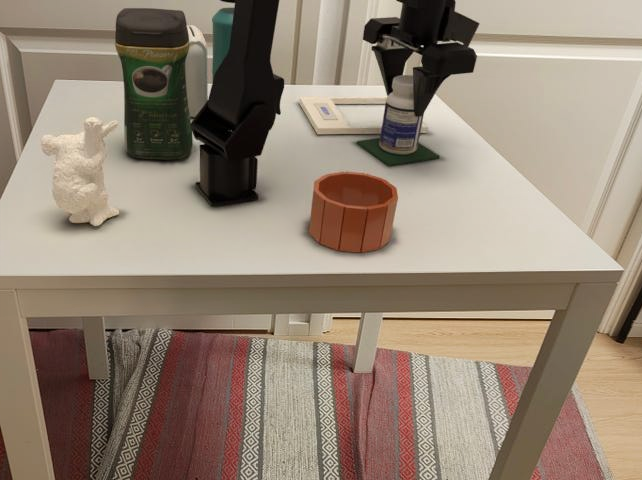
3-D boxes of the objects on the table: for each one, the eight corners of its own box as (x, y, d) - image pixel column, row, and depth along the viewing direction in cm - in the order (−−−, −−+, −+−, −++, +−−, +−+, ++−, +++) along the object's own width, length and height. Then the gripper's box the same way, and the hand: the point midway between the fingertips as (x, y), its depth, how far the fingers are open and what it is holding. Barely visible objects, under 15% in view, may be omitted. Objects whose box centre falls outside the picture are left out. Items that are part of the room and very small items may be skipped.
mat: (388, 166, 94) (389, 163, 94) (356, 143, 100) (356, 141, 100) (439, 158, 97) (440, 155, 97) (405, 136, 104) (405, 134, 103)
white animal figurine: (129, 206, 81) (120, 108, 74) (123, 233, 76) (113, 130, 68) (60, 205, 81) (44, 106, 73) (49, 231, 76) (30, 128, 68)
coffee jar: (194, 142, 98) (192, 4, 86) (189, 164, 92) (186, 18, 80) (130, 139, 98) (118, 0, 86) (120, 160, 92) (107, 14, 80)
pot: (334, 258, 74) (340, 214, 70) (295, 220, 80) (299, 178, 77) (404, 243, 77) (414, 200, 73) (362, 208, 84) (368, 167, 80)
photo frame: (299, 96, 113) (399, 95, 115) (299, 102, 113) (398, 102, 116) (318, 127, 102) (428, 125, 104) (317, 134, 102) (426, 132, 105)
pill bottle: (390, 138, 102) (402, 71, 95) (423, 148, 99) (437, 80, 93) (371, 148, 98) (382, 79, 92) (404, 159, 96) (418, 88, 89)
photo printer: (175, 98, 113) (172, 19, 105) (200, 97, 114) (199, 18, 106) (183, 119, 105) (181, 35, 97) (210, 118, 106) (210, 35, 98)
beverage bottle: (248, 136, 101) (253, -11, 88) (206, 131, 102) (205, -15, 89) (256, 121, 106) (262, -20, 93) (216, 117, 107) (217, -24, 94)
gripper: (525, -1, 81) (490, 124, 91) (435, -29, 94) (413, 84, 104) (453, 3, 77) (425, 133, 87) (369, -27, 90) (353, 90, 100)
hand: (404, 108), depth 95 cm, fingers open, 6 cm apart
